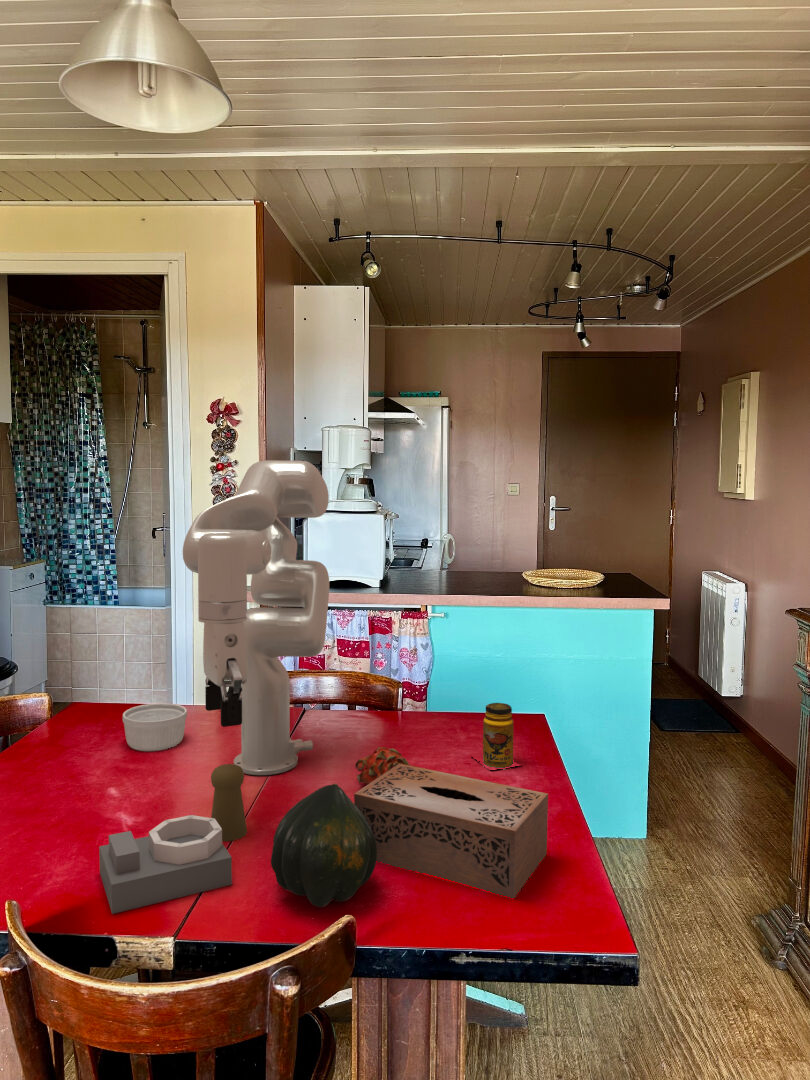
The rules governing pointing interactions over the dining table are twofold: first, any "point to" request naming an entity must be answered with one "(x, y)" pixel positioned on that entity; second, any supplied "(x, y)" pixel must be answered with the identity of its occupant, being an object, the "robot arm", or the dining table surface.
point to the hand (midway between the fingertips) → (223, 717)
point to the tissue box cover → (456, 827)
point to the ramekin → (154, 726)
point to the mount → (164, 863)
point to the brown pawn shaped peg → (229, 801)
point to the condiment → (498, 736)
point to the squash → (324, 847)
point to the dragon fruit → (378, 764)
